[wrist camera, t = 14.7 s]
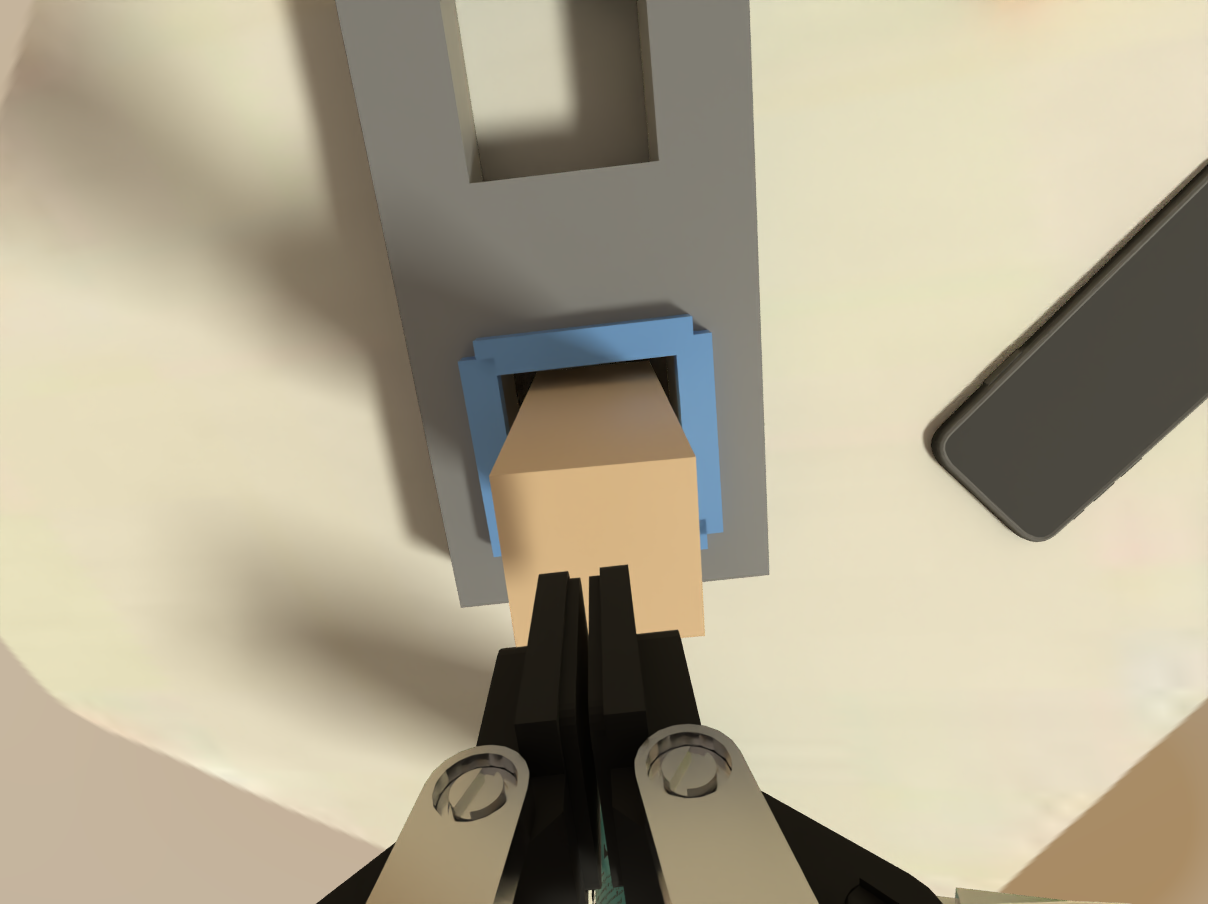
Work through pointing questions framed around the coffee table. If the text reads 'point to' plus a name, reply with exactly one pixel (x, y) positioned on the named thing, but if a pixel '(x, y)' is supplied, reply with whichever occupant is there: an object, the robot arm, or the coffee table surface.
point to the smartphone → (1092, 380)
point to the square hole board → (573, 263)
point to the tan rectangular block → (601, 495)
